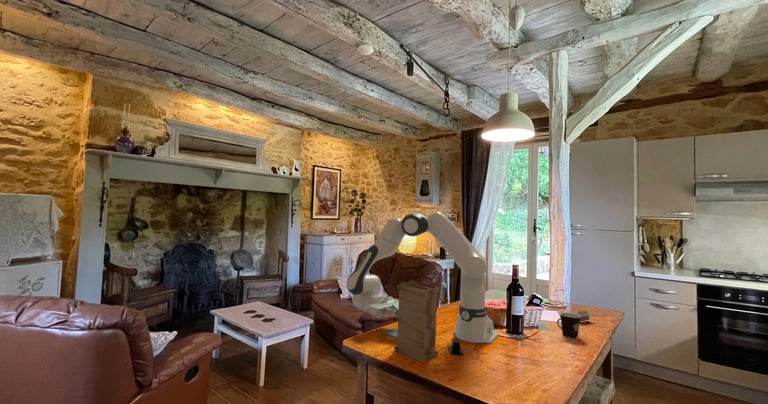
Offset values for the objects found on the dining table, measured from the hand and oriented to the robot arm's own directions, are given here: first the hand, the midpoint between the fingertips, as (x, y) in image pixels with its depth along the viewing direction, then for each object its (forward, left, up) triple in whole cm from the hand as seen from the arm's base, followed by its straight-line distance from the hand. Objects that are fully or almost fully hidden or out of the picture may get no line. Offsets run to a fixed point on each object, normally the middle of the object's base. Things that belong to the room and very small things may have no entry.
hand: (399, 311), depth 159 cm
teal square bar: (0, +5, -5) cm, 7 cm away
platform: (-95, +52, -11) cm, 109 cm away
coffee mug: (-62, +53, -11) cm, 82 cm away
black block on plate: (-4, +28, -11) cm, 30 cm away
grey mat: (0, +5, -11) cm, 12 cm away
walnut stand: (+11, +19, -11) cm, 24 cm away
